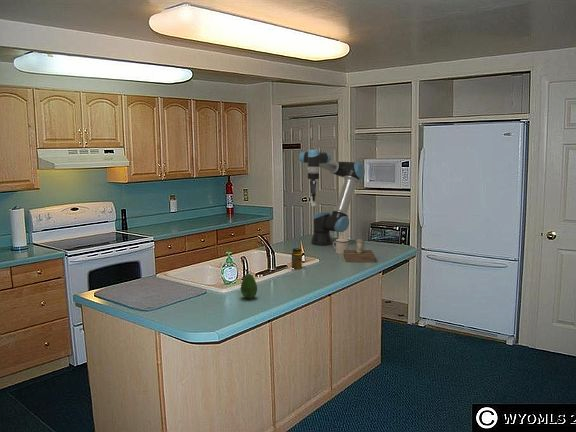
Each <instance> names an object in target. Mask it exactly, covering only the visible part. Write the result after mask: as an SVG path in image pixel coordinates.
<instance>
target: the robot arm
mask: <svg viewBox="0 0 576 432" xmlns="http://www.w3.org/2000/svg"><path fill="white" fill-rule="evenodd" d="M299 161H300V162H301V163H304V164H307V168H306V169H307V172H308V173H307V179H308V180H310V182H309V185H310V204H311V207H316V202H317V201H316V200H317V199H316V198H317V197H316V195H317V193H316V192H317V191H316V188H317V181H316V180H319V179H320V173H319V172H320V169H323V170H326V171H328V172H329V173H330V174H333V175H335V176H338V177H341V178H343V180H344V181H343V185H342V188H341V191H340V193H339V194H340V195H339V198H338V200H337V204H336V207H335V209H334V210H332V213H330V211H329V212H328V211H323V212H317V213H314V215H313V234H312V237H311V239H310V240H311V241H310V243H311V244H312V245H314V246H329V245H330V246H331V245H333V241H332V237H331V234H330V231H331V232H336V233H343V232H346V231H347V230H348V228H349V226H350V219H349V215H348V211H349V207H350V204H351V200H352V198H353V195H354V191H355V187H356V185H357V183H359V181H360V180H361V179H363V178H364V176H365V166H364V164H363V163H362V162H357V161H337V160H332V155H331V153H330V152H326V151H322V152H320V150H319V149H308V151H302V152H301V153H299Z"/></svg>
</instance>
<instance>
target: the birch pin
mask: <svg viewBox="0 0 576 432" xmlns="http://www.w3.org/2000/svg"><path fill="white" fill-rule="evenodd" d="M355 250H356V253H362V250H363V239H361V238H357V239H356V248H355Z"/></svg>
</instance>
